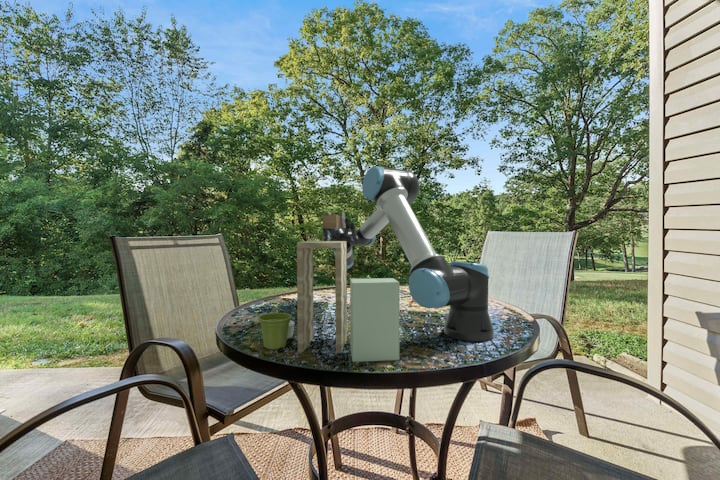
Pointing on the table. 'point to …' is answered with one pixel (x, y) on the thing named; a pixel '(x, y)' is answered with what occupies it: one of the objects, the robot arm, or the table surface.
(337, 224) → the rail
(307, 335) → the bridge
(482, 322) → the robot arm
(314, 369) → the table surface
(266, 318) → the plant pot
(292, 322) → the ramekin
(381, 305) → the block
